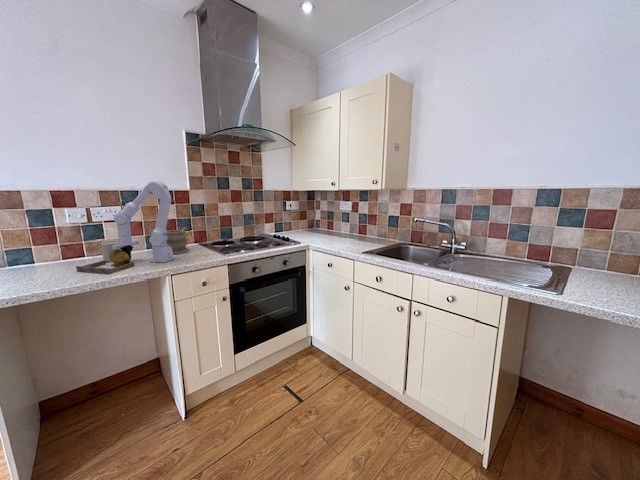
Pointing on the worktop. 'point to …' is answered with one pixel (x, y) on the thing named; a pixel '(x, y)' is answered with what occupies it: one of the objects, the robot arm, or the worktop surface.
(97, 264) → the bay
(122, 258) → the olive green oval lump
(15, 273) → the worktop surface
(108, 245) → the can
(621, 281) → the worktop surface
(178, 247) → the tankard
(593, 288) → the worktop surface
